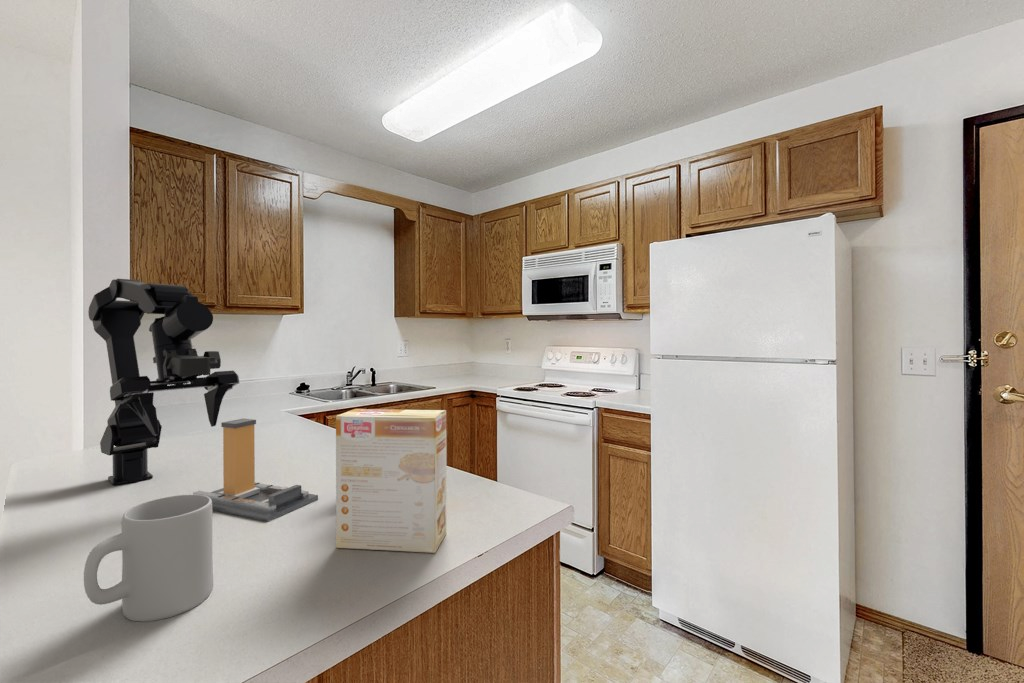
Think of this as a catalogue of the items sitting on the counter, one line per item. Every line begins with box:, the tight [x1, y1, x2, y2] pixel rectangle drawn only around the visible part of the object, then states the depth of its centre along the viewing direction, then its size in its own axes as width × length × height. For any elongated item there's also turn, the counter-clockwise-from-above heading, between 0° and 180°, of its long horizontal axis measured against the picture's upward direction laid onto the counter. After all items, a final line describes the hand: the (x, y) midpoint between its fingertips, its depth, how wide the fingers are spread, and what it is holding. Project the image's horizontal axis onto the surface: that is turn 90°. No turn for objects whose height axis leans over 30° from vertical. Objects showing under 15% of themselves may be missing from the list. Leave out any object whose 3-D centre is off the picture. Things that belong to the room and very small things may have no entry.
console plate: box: [192, 482, 319, 522], centre depth 85 cm, size 20×11×3 cm, turn 69°
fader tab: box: [218, 418, 260, 499], centre depth 86 cm, size 5×5×14 cm
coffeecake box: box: [335, 408, 447, 554], centre depth 70 cm, size 15×7×20 cm, turn 84°
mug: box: [83, 494, 214, 622], centre depth 52 cm, size 12×8×11 cm
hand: (186, 430), depth 84 cm, fingers open, 9 cm apart
